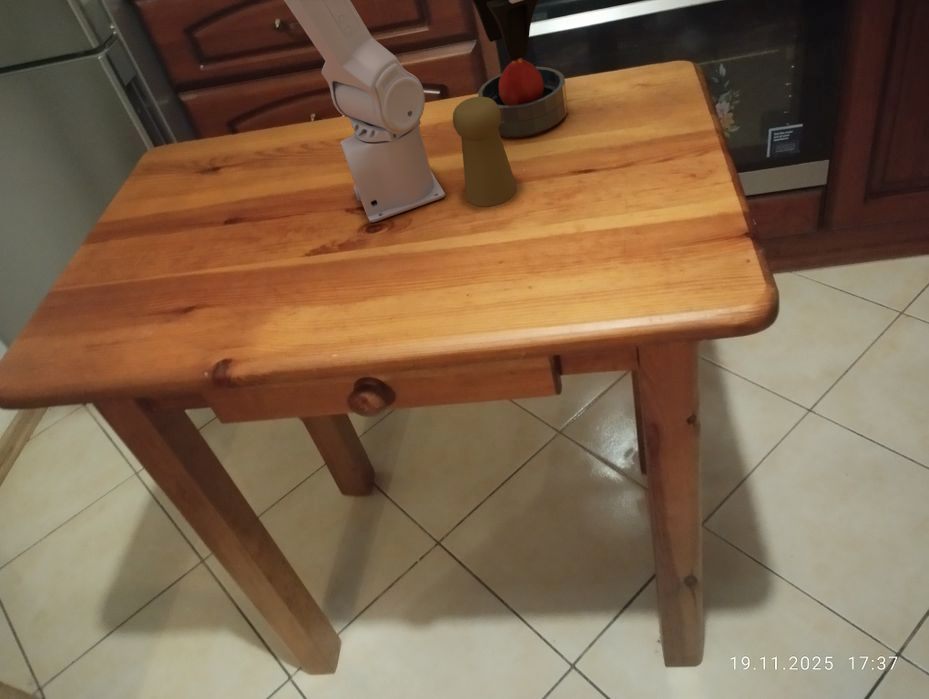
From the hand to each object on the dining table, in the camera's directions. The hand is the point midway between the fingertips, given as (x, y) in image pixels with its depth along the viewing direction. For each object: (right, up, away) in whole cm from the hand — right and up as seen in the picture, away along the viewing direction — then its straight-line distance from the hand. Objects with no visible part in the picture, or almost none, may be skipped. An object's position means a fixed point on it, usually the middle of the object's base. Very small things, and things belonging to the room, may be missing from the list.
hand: (507, 48), depth 84 cm
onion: (+3, -6, +6) cm, 9 cm away
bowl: (+3, -7, +6) cm, 9 cm away
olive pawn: (-2, -19, -5) cm, 20 cm away
